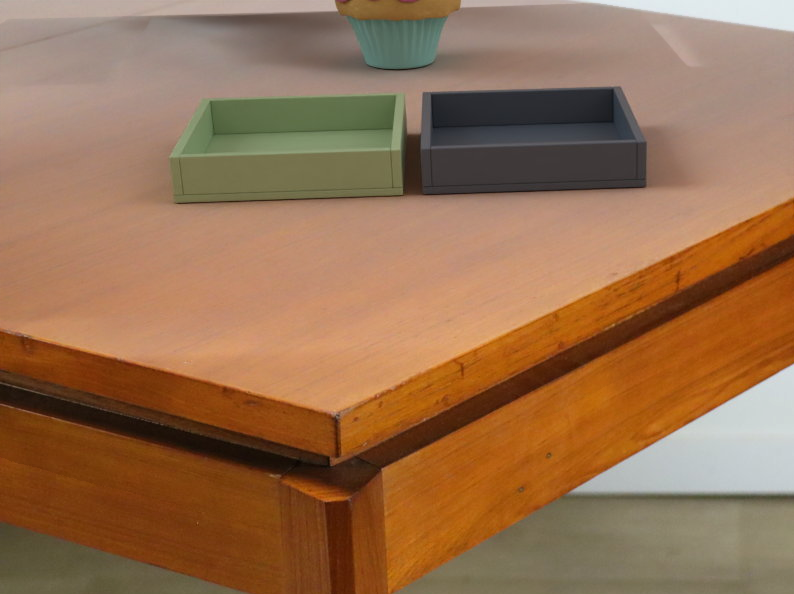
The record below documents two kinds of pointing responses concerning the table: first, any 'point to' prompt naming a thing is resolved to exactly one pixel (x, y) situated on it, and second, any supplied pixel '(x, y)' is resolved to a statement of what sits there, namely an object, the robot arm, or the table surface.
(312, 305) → the table surface
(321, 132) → the green tray
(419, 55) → the cupcake
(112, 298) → the table surface
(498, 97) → the slate tray
